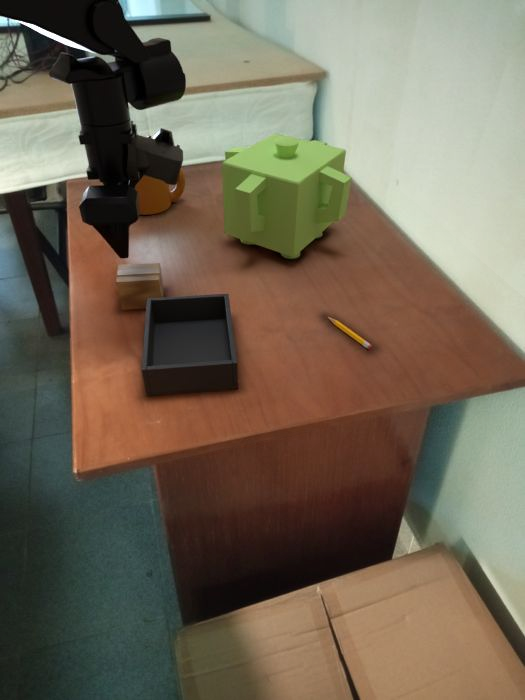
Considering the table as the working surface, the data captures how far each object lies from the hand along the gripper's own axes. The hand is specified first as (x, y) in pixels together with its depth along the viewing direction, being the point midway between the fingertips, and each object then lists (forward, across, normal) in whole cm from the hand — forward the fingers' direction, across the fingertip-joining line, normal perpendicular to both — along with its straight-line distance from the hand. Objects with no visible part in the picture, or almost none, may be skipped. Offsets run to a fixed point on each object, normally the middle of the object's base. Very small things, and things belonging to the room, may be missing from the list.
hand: (127, 239), depth 67 cm
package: (+11, +1, -1) cm, 11 cm away
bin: (+11, -12, -8) cm, 18 cm away
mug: (+11, +33, -2) cm, 35 cm away
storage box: (+11, +18, -25) cm, 32 cm away
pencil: (+11, -10, -30) cm, 33 cm away
